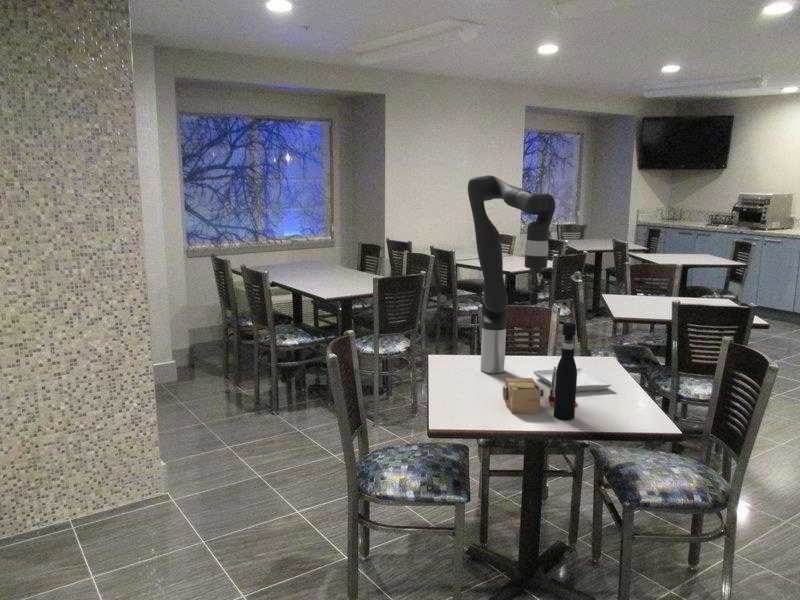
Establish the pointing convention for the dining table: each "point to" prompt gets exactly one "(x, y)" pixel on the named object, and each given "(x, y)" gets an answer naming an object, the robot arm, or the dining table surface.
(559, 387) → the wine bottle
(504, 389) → the pin
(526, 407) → the block
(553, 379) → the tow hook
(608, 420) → the dining table surface
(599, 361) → the dining table surface
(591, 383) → the salad plate
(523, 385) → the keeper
